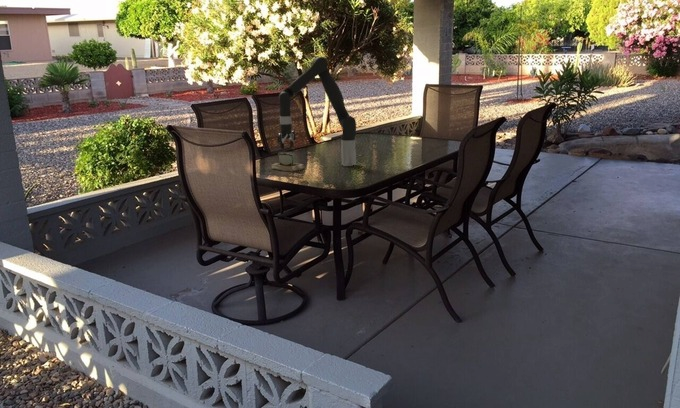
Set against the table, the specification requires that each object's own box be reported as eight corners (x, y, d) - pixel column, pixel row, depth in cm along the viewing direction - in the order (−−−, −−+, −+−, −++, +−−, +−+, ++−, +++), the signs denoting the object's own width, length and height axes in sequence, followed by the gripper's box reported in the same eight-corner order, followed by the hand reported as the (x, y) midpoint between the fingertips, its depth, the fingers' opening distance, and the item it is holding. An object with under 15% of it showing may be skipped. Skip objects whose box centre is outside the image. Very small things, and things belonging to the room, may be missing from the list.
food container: (298, 167, 388) (298, 152, 386) (293, 168, 383) (292, 153, 381) (283, 166, 395) (283, 151, 392) (278, 167, 389) (277, 152, 387)
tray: (284, 166, 398) (284, 161, 398) (303, 168, 387) (303, 164, 387) (271, 168, 389) (271, 164, 389) (291, 171, 378) (291, 167, 378)
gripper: (289, 121, 389) (290, 146, 393) (273, 124, 378) (275, 149, 382) (297, 122, 384) (298, 146, 388) (282, 124, 374) (283, 149, 378)
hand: (287, 148), depth 385 cm, fingers open, 8 cm apart
